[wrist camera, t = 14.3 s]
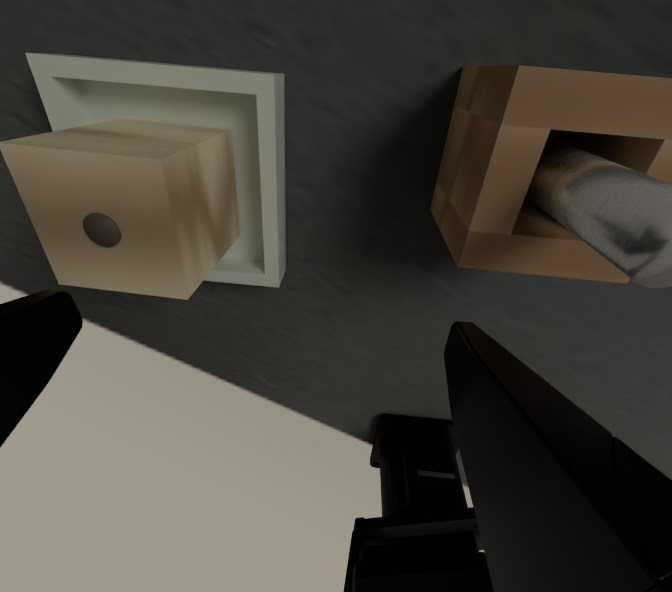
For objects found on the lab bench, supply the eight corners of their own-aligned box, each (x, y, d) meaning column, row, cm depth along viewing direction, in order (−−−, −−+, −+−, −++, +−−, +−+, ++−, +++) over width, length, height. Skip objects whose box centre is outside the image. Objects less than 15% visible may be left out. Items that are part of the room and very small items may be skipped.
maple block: (240, 235, 18) (186, 301, 13) (146, 224, 18) (56, 285, 13) (231, 129, 15) (158, 160, 10) (120, 118, 15) (-6, 143, 10)
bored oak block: (550, 220, 17) (626, 283, 12) (430, 209, 17) (457, 267, 12) (612, 78, 14) (752, 85, 9) (463, 66, 14) (519, 65, 9)
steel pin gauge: (524, 175, 16) (696, 292, 8) (481, 171, 16) (608, 283, 8) (541, 128, 15) (764, 206, 7) (495, 124, 15) (660, 197, 7)
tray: (286, 269, 20) (278, 287, 18) (123, 253, 20) (101, 270, 18) (284, 73, 14) (273, 74, 13) (63, 54, 15) (25, 52, 13)
